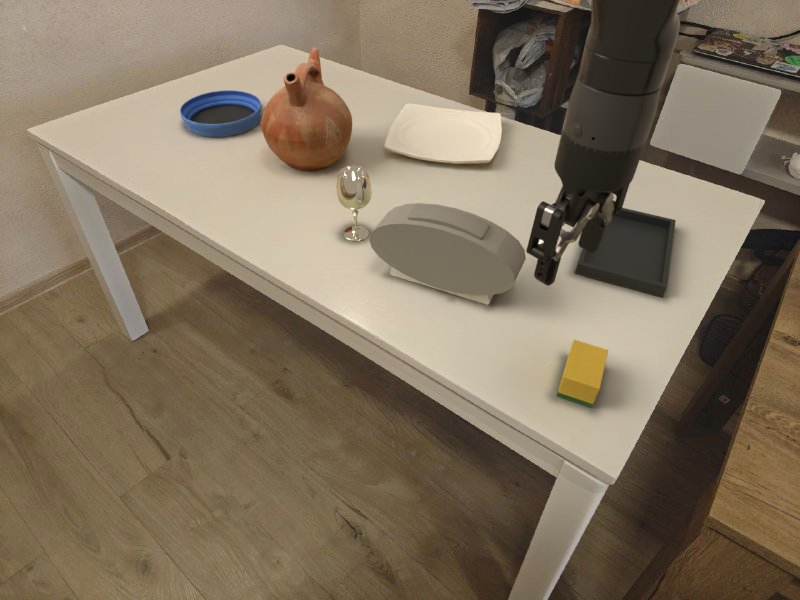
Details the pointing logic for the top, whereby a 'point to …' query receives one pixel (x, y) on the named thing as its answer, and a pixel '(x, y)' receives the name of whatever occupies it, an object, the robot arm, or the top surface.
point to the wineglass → (354, 197)
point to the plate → (445, 134)
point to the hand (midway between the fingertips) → (566, 264)
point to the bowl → (221, 113)
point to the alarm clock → (448, 250)
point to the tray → (632, 253)
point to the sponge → (583, 373)
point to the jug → (307, 120)
